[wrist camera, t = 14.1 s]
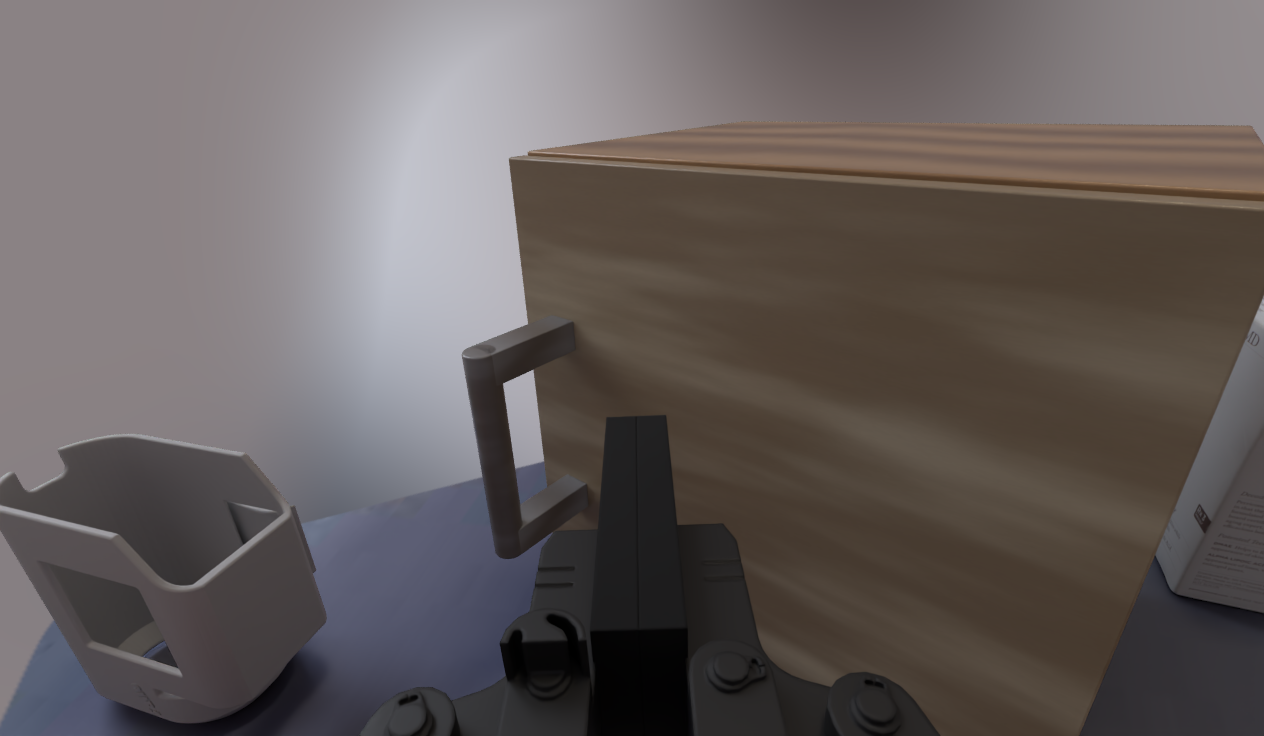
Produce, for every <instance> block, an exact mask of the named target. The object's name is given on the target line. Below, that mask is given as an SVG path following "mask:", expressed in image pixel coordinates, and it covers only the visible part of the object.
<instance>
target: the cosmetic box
mask: <svg viewBox="0 0 1264 736" xmlns="http://www.w3.org/2000/svg"><path fill="white" fill-rule="evenodd" d="M1155 556H1156V558H1157V560H1158V562H1159V564H1160V566H1161V568H1162V571H1163V573H1164V575H1165V577H1166V580H1167V583H1168V585H1169V587H1170V589H1171V590H1172V591H1173V592H1174V593H1176V594H1178V595H1182V596H1186V597H1191V598H1195V599H1200V600H1205V601H1209V602H1214V603H1219V604H1224V605H1228V606H1233V607H1238V608H1242V609H1247V610H1252V611H1256V612H1261V613H1264V297H1263V299H1262V302H1261V304H1260V307H1259V309H1258V311H1257V314H1256V316H1255V318H1254V321H1253V323H1252V326H1251V328H1250V330H1249V333H1248V335H1247V337H1246V340H1245V342H1244V345H1243V347H1242V349H1241V352H1240V354H1239V357H1238V359H1237V361H1236V364H1235V366H1234V368H1233V371H1232V373H1231V376H1230V378H1229V380H1228V383H1227V385H1226V387H1225V390H1224V392H1223V395H1222V397H1221V399H1220V402H1219V404H1218V407H1217V409H1216V411H1215V414H1214V416H1213V418H1212V421H1211V423H1210V426H1209V428H1208V430H1207V433H1206V435H1205V437H1204V440H1203V442H1202V445H1201V447H1200V449H1199V452H1198V454H1197V457H1196V459H1195V461H1194V464H1193V466H1192V468H1191V471H1190V473H1189V476H1188V478H1187V480H1186V483H1185V485H1184V487H1183V490H1182V492H1181V495H1180V497H1179V499H1178V502H1177V504H1176V507H1175V509H1174V511H1173V514H1172V516H1171V518H1170V521H1169V523H1168V526H1167V528H1166V530H1165V533H1164V535H1163V537H1162V540H1161V542H1160V545H1159V547H1158V549H1157V552H1156V554H1155Z"/></svg>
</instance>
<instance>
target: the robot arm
mask: <svg viewBox="0 0 1264 736" xmlns="http://www.w3.org/2000/svg"><path fill="white" fill-rule="evenodd" d="M500 647H501V652H502V658H503V663H504V668H505V673H506V676H505V677H504V678H503V679H501V680H500V681H498V682H497V683H495V684H494V685H492V686H490V687H488V688H486V689H483V690H481V691H479V692H476V693H473V694H470V695H467V696H464V697H461V698H458V699H455V700H452V701H451V700H450V698H449V697H448V696H447V694H446V693H444V692H442V691H440V690H437V689H435V688H433V687H416V688H413V689H410V690H407V691H404V692H401V693H399V694H397V695H396V696H394V697H393V698H391V699H390V700H388V701H387V702H385V703H384V704H383V705H382V706H381V707H380V708H379V709H378V710H377V711H376V712H375V714H374V715H373V716H372V717H371V718H370V720H369V721H368V723H367V724H366V726H365V727H364V729H363V730H362V732H361V733H360V735H359V736H940V734H939V733H938V731H937V730H936V729H935V727H934V726H933V725H932V723H931V722H930V720H929V719H928V718H927V716H926V715H925V714H924V712H923V711H922V709H921V708H920V707H919V705H918V704H917V703H916V701H915V700H914V699H913V698H912V697H911V696H910V695H909V694H908V693H907V692H906V691H905V690H904V689H903V688H902V687H901V686H900V685H898V684H896V683H895V682H893V681H891V680H889V679H888V678H886V677H884V676H881V675H877V674H873V673H869V672H856V673H849V674H847V675H845V676H843V677H841V678H839V679H837V680H836V681H835V683H834V684H833V686H832V687H830V686H826V685H822V684H818V683H815V682H811V681H807V680H804V679H801V678H798V677H795V676H793V675H790V674H789V673H787V672H785V671H784V670H782V669H781V668H779V667H778V666H777V665H776V664H775V663H774V662H773V661H771V660H770V659H769V657H768V656H767V654H766V653H765V651H764V650H763V648H762V645H761V643H760V640H759V637H758V632H757V628H756V623H755V619H754V615H753V610H752V606H751V601H750V597H749V592H748V588H747V584H746V580H745V575H744V570H743V566H742V563H741V557H740V553H739V548H738V544H737V540H736V539H735V537H734V536H733V535H732V534H731V533H730V531H729V530H728V529H727V528H726V527H725V525H724V524H723V523H719V524H690V525H677V517H676V507H675V497H674V487H673V477H672V467H671V457H670V447H669V437H668V427H667V417H666V415H650V416H624V417H606V428H605V441H604V454H603V467H602V480H601V493H600V506H599V519H598V529H593V530H565V531H554V533H553V534H552V535H551V537H550V538H549V539H548V541H547V542H546V543H545V545H544V546H543V547H542V550H541V555H540V560H539V565H538V572H537V575H536V581H535V588H534V591H533V596H532V601H531V606H530V612H528V613H526V614H524V615H522V616H520V617H519V618H517V619H516V620H515V621H514V622H513V623H512V624H511V625H510V626H509V627H508V628H507V629H506V631H505V633H504V635H503V637H502V639H501V641H500Z"/></svg>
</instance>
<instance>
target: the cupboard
mask: <svg viewBox="0 0 1264 736" xmlns="http://www.w3.org/2000/svg"><path fill="white" fill-rule="evenodd" d="M528 156H540V157H556V158H572V159H588V160H604V161H620V162H636V163H652V164H668V165H684V166H700V167H716V168H732V169H748V170H764V171H780V172H796V173H812V174H828V175H844V176H861V177H877V178H893V179H909V180H925V181H941V182H957V183H973V184H989V185H1005V186H1021V187H1037V188H1053V189H1069V190H1085V191H1101V192H1117V193H1133V194H1149V195H1165V196H1181V197H1197V198H1213V199H1229V200H1245V201H1261V202H1264V145H1263V143H1262V142H1261V140H1260V138H1259V137H1258V136H1257V134H1256V132H1255V131H1254V129H1253V127H1252V126H1224V125H1222V126H1221V125H1218V126H1217V125H1216V126H1215V125H1106V124H1105V125H1104V124H1102V125H1101V124H1097V125H1096V124H986V123H984V124H983V123H982V124H980V123H868V122H867V123H866V122H861V123H860V122H751V121H749V122H745V121H744V122H736V123H728V124H722V125H715V126H707V127H700V128H692V129H685V130H678V131H671V132H663V133H657V134H649V135H642V136H635V137H627V138H620V139H613V140H606V141H598V142H591V143H584V144H577V145H570V146H563V147H555V148H548V149H541V150H533V151H529V152H528Z"/></svg>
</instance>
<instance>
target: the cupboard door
mask: <svg viewBox="0 0 1264 736" xmlns="http://www.w3.org/2000/svg"><path fill="white" fill-rule="evenodd" d="M509 165H510V173H511V182H512V190H513V199H514V207H515V216H516V223H517V233H518V241H519V249H520V258H521V267H522V275H523V283H524V292H525V300H526V310H527V318H528V325H525V326H523V327H520V328H517V329H515V330H512V331H510V332H507V333H505V334H502V335H500V336H497V337H494V338H492V339H489V340H487V341H484V342H482V343H479V344H476V345H474V346H472V347H469V348H467V349H465V350H464V351H463V353H462V359H463V365H464V370H465V375H466V382H467V388H468V394H469V400H470V405H471V411H472V417H473V423H474V429H475V435H476V440H477V446H478V452H479V458H480V464H481V470H482V476H483V482H484V488H485V494H486V500H487V506H488V511H489V517H490V523H491V529H492V535H493V541H494V547H495V552H496V554H497V555H498V556H499V557H500V558H503V559H512V558H516V557H518V556H519V555H521V554H523V553H524V552H525V551H527V550H528V549H529V548H531V547H532V546H534V545H535V544H536V543H538V542H539V541H541V540H542V539H543V538H545V537H546V536H548V535H549V534H550V533H552V532H553V533H554V531H565V530H593V529H598V519H599V506H600V493H601V480H602V467H603V454H604V441H605V428H606V417H624V416H650V415H666V417H667V427H668V437H669V447H670V457H671V467H672V477H673V487H674V497H675V507H676V517H677V525H690V524H719V523H723V524H724V525H725V527H726V528H727V529H728V530H729V531H730V533H731V534H732V535H733V536H734V537H735V539H736V540H737V544H738V548H739V553H740V557H741V563H742V566H743V570H744V575H745V580H746V584H747V588H748V592H749V597H750V601H751V606H752V610H753V615H754V619H755V623H756V628H757V632H758V637H759V640H760V643H761V645H762V648H763V650H764V651H765V653H766V654H767V656H768V657H769V659H770V660H771V661H773V662H774V663H775V664H776V665H777V666H778V667H779V668H781V669H782V670H784V671H785V672H787V673H789V674H790V675H793V676H795V677H798V678H801V679H804V680H807V681H811V682H815V683H818V684H822V685H826V686H830V687H832V686H833V684H834V683H835V681H836V680H837V679H839V678H841V677H843V676H845V675H847V674H849V673H856V672H869V673H873V674H877V675H881V676H884V677H886V678H888V679H889V680H891V681H893V682H895V683H896V684H898V685H900V686H901V687H902V688H903V689H904V690H905V691H906V692H907V693H908V694H909V695H910V696H911V697H912V698H913V699H914V700H915V701H916V703H917V704H918V705H919V707H920V708H921V709H922V711H923V712H924V714H925V715H926V716H927V718H928V719H929V720H930V722H931V723H932V725H933V726H934V727H935V729H936V730H937V731H938V733H939V734H940V736H1079V735H1080V733H1081V730H1082V728H1083V726H1084V723H1085V721H1086V718H1087V716H1088V714H1089V711H1090V709H1091V707H1092V704H1093V702H1094V699H1095V697H1096V695H1097V692H1098V690H1099V687H1100V685H1101V683H1102V680H1103V678H1104V676H1105V673H1106V671H1107V668H1108V666H1109V664H1110V661H1111V659H1112V657H1113V654H1114V652H1115V649H1116V647H1117V645H1118V642H1119V640H1120V637H1121V635H1122V633H1123V630H1124V628H1125V626H1126V623H1127V621H1128V618H1129V616H1130V614H1131V611H1132V609H1133V607H1134V604H1135V602H1136V599H1137V597H1138V595H1139V592H1140V590H1141V587H1142V585H1143V583H1144V580H1145V578H1146V576H1147V573H1148V571H1149V568H1150V566H1151V564H1152V561H1153V559H1154V557H1155V554H1156V552H1157V549H1158V547H1159V545H1160V542H1161V540H1162V537H1163V535H1164V533H1165V530H1166V528H1167V526H1168V523H1169V521H1170V518H1171V516H1172V514H1173V511H1174V509H1175V507H1176V504H1177V502H1178V499H1179V497H1180V495H1181V492H1182V490H1183V487H1184V485H1185V483H1186V480H1187V478H1188V476H1189V473H1190V471H1191V468H1192V466H1193V464H1194V461H1195V459H1196V457H1197V454H1198V452H1199V449H1200V447H1201V445H1202V442H1203V440H1204V437H1205V435H1206V433H1207V430H1208V428H1209V426H1210V423H1211V421H1212V418H1213V416H1214V414H1215V411H1216V409H1217V407H1218V404H1219V402H1220V399H1221V397H1222V395H1223V392H1224V390H1225V387H1226V385H1227V383H1228V380H1229V378H1230V376H1231V373H1232V371H1233V368H1234V366H1235V364H1236V361H1237V359H1238V357H1239V354H1240V352H1241V349H1242V347H1243V345H1244V342H1245V340H1246V337H1247V335H1248V333H1249V330H1250V328H1251V326H1252V323H1253V321H1254V318H1255V316H1256V314H1257V311H1258V309H1259V307H1260V304H1261V302H1262V299H1263V297H1264V202H1261V201H1245V200H1229V199H1213V198H1197V197H1181V196H1165V195H1149V194H1133V193H1117V192H1101V191H1085V190H1069V189H1053V188H1037V187H1021V186H1005V185H989V184H973V183H957V182H941V181H925V180H909V179H893V178H877V177H861V176H844V175H828V174H812V173H796V172H780V171H764V170H748V169H732V168H716V167H700V166H684V165H668V164H652V163H636V162H620V161H604V160H588V159H572V158H556V157H540V156H517V157H511V158H509ZM533 369H534V378H535V386H536V394H537V403H538V411H539V419H540V428H541V436H542V446H543V454H544V463H545V471H546V480H547V488H545V489H544V490H542V491H541V492H539V493H538V494H536V495H534V496H533V497H531V498H530V499H528V500H527V501H525V502H524V503H522V504H521V505H520V500H519V493H518V486H517V479H516V472H515V465H514V458H513V452H512V444H511V437H510V430H509V423H508V417H507V409H506V403H505V395H504V389H503V383H505V382H507V381H509V380H511V379H514V378H516V377H518V376H520V375H522V374H525V373H527V372H529V371H531V370H533Z"/></svg>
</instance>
